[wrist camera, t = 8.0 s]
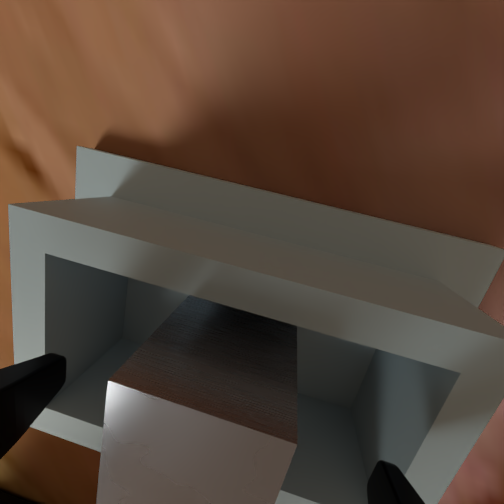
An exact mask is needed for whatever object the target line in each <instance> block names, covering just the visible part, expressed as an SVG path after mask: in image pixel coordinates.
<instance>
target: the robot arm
mask: <svg viewBox="0 0 504 504" xmlns="http://www.w3.org/2000/svg"><path fill="white" fill-rule="evenodd" d="M66 369H67V359H66V357H65V356H62V355H59V354H56V353H48V354H45V355H42V356H39V357H36V358H33V359H30V360H27V361H24V362H21V363H18V364H15V365H11V366H8V367H5V368H2V369H0V459H1V458H2V457H3V456H4V455H5V454H6V453H7V452H8V451H9V450H10V449H11V448H12V446H13V445H14V444H15V443H16V442H17V441H18V440H19V439H20V438H21V436H22V435H23V434H24V433H25V432H26V431H27V429H28V428H29V427H30V426H31V425H32V423H33V422H34V421H35V420H36V419H37V417H38V416H39V415H40V414H41V413H42V411H43V410H44V409H45V408H46V407H47V405H48V404H49V403H50V402H51V400H52V399H53V398H54V397H55V396H56V394H57V393H58V392H59V391H60V390H61V388H62V387H63V385H64V383H65V381H66ZM367 499H368V504H425V502H424V501H423V500H422V498H421V497H420V496H419V494H418V493H417V492H416V490H415V489H414V488H413V486H412V485H411V484H410V482H409V481H408V480H407V478H406V477H405V475H404V474H403V473H402V471H401V470H400V469H399V468H398V467H397V466H396V465H395V464H393V463H390V462H387V461H384V460H379V461H378V462H377V463H376V465H375V467H374V469H373V471H372V473H371V475H370V477H369V479H368V483H367ZM0 504H32V503H29V502H27V501H24V500H21V499H19V498H16V497H14V496H11V495H9V494H6V493H4V492H1V491H0Z"/></svg>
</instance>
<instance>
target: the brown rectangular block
mask: <svg viewBox="0 0 504 504" xmlns="http://www.w3.org/2000/svg"><path fill="white" fill-rule="evenodd" d="M296 447H297V326H296V325H292V324H289V323H285V322H282V321H278V320H275V319H271V318H268V317H264V316H261V315H257V314H254V313H250V312H247V311H244V310H240V309H237V308H233V307H230V306H226V305H223V304H219V303H216V302H212V301H209V300H205V299H202V298H198V297H195V296H192V295H189V296H188V297H187V298H186V299H185V300H184V301H183V302H182V303H181V304H180V305H179V306H178V307H177V308H176V309H175V310H174V311H173V312H172V313H171V315H170V316H169V317H168V318H167V319H166V320H165V321H164V322H163V323H162V324H161V325H160V326H159V327H158V328H157V329H156V330H155V331H154V332H153V333H152V335H151V336H150V337H149V338H148V339H147V340H146V341H145V342H144V343H143V344H142V345H141V346H140V347H139V348H138V349H137V350H136V351H135V352H134V353H133V354H132V356H131V357H130V358H129V359H128V360H127V361H126V362H125V363H124V364H123V365H122V366H121V367H120V368H119V369H118V370H117V371H116V372H115V373H114V374H113V375H112V377H111V378H110V379H109V380H108V383H107V394H106V404H105V415H104V425H103V436H102V447H101V457H100V468H99V478H98V489H97V499H96V504H275V502H276V500H277V497H278V494H279V492H280V489H281V486H282V484H283V481H284V479H285V476H286V473H287V471H288V468H289V466H290V463H291V460H292V458H293V455H294V452H295V450H296Z"/></svg>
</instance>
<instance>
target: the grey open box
mask: <svg viewBox="0 0 504 504" xmlns="http://www.w3.org/2000/svg"><path fill="white" fill-rule="evenodd" d="M8 211H9V237H10V263H11V289H12V315H13V341H14V365H15V364H18V363H21V362H24V361H27V360H30V359H33V358H36V357H39V356H42V355H45V354H48V353H56V354H59V355H62V356H65V357H66V359H67V369H66V381H65V383H64V385H63V387H62V388H61V390H60V391H59V392H58V393H57V394H56V396H55V397H54V398H53V399H52V400H51V402H50V403H49V404H48V405H47V407H46V408H45V409H44V410H43V411H42V413H41V414H40V415H39V416H38V417H37V419H36V420H35V421H34V422H33V423H32V425H31V426H30V427H32V428H35V429H37V430H40V431H43V432H46V433H49V434H51V435H54V436H57V437H60V438H62V439H65V440H68V441H71V442H74V443H76V444H79V445H82V446H85V447H87V448H90V449H93V450H96V451H99V452H101V447H102V436H103V425H104V415H105V404H106V394H107V383H108V380H109V379H110V378H111V377H112V375H113V374H114V373H115V372H116V371H117V370H118V369H119V368H120V367H121V366H122V365H123V364H124V363H125V362H126V361H127V360H128V359H129V358H130V357H131V356H132V354H133V353H134V352H135V351H136V350H137V349H138V348H139V347H140V346H141V345H142V344H143V343H144V342H145V341H146V340H147V339H148V338H149V337H150V336H151V335H152V333H153V332H154V331H155V330H156V329H157V328H158V327H159V326H160V325H161V324H162V323H163V322H164V321H165V320H166V319H167V318H168V317H169V316H170V315H171V313H172V312H173V311H174V310H175V309H176V308H177V307H178V306H179V305H180V304H181V303H182V302H183V301H184V300H185V299H186V298H187V297H188V296H189V295H192V296H195V297H198V298H202V299H205V300H209V301H212V302H216V303H219V304H223V305H226V306H230V307H233V308H237V309H240V310H244V311H247V312H250V313H254V314H257V315H261V316H264V317H268V318H271V319H275V320H278V321H282V322H285V323H289V324H292V325H296V326H297V447H296V450H295V452H294V455H293V458H292V460H291V463H290V466H289V468H288V471H287V473H286V476H285V479H284V481H283V484H282V486H281V489H280V492H279V494H278V497H277V500H276V502H275V504H368V499H367V483H368V479H369V477H370V475H371V473H372V471H373V469H374V467H375V465H376V463H377V462H378V461H379V460H384V461H387V462H390V463H393V464H395V465H396V466H397V467H398V468H399V469H400V470H401V471H402V473H403V474H404V475H405V477H406V478H407V480H408V481H409V482H410V484H411V485H412V486H413V488H414V489H415V490H416V492H417V493H418V494H419V496H420V497H421V498H422V500H423V501H424V502H425V504H437V503H438V502H439V500H440V499H441V497H442V495H443V494H444V492H445V491H446V489H447V487H448V486H449V484H450V483H451V481H452V479H453V478H454V476H455V475H456V473H457V471H458V470H459V468H460V467H461V465H462V463H463V462H464V460H465V459H466V457H467V456H468V454H469V452H470V451H471V449H472V448H473V446H474V444H475V443H476V441H477V440H478V438H479V436H480V435H481V433H482V432H483V430H484V428H485V427H486V425H487V424H488V422H489V420H490V419H491V417H492V416H493V414H494V412H495V411H496V409H497V408H498V406H499V404H500V403H501V401H502V400H503V398H504V326H503V325H501V324H500V323H498V322H497V321H496V320H494V319H493V318H491V317H490V316H488V315H487V314H486V313H484V312H483V311H481V310H480V309H478V307H479V305H480V303H481V301H482V299H483V297H484V295H485V294H486V292H487V290H488V288H489V286H490V284H491V282H492V280H493V278H494V276H495V275H496V273H497V271H498V269H499V267H500V265H501V263H502V261H503V259H504V249H502V248H498V247H495V246H492V245H489V244H485V243H481V242H477V241H473V240H468V239H464V238H460V237H456V236H452V235H448V234H444V233H439V232H435V231H431V230H427V229H423V228H419V227H415V226H411V225H406V224H402V223H398V222H394V221H390V220H386V219H382V218H378V217H373V216H369V215H365V214H361V213H357V212H353V211H349V210H345V209H340V208H336V207H332V206H328V205H324V204H320V203H316V202H312V201H307V200H303V199H299V198H295V197H291V196H287V195H283V194H278V193H274V192H270V191H266V190H262V189H258V188H254V187H250V186H245V185H241V184H237V183H233V182H229V181H225V180H221V179H217V178H212V177H208V176H204V175H200V174H196V173H192V172H188V171H184V170H179V169H175V168H171V167H167V166H163V165H159V164H155V163H150V162H146V161H142V160H138V159H134V158H130V157H126V156H122V155H117V154H113V153H109V152H105V151H101V150H97V149H92V148H86V147H80V146H77V158H76V188H75V199H69V200H56V201H43V202H29V203H16V204H8Z"/></svg>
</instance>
